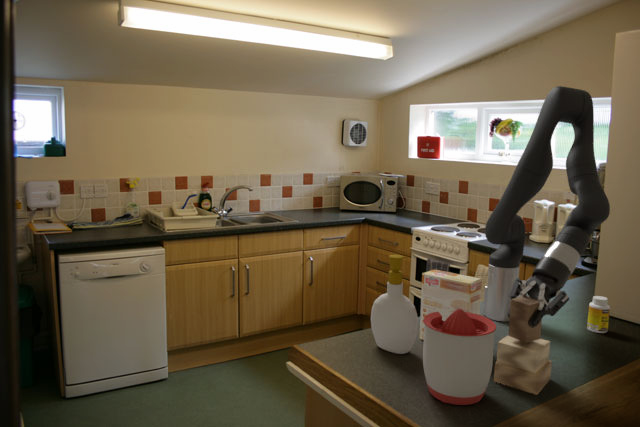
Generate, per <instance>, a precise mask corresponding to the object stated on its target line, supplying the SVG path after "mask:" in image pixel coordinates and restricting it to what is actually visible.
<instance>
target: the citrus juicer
mask: <svg viewBox="0 0 640 427" xmlns="http://www.w3.org/2000/svg"><path fill="white" fill-rule="evenodd" d="M423 322H424V340H423V344H422V346H423V349H422V364H423V365H422V366H423V371H424V376H425V377H424V378H425V383H426V385H427V389H428V391H429V393H430V394H431V395H432V397H434V398H435V399H437V400H439V401H440V402H442V403H444V404H451V405H456V406H457V405H458V406H467V405H468V406H469V405H474V404H478V403H479V402H480V401H481V400H482V398H483V397H484V395H485V393H486V391H487V390H488V389H487V387H488V384H489V382H490V379H491V375H492V372H493V371H492V370H493V364H494V363H493V360H494V350H495V349H494V348H495V332H496V329H497V324H496V323H495V322H494V320H493V319H490V318H488V317H487V316H485V315H481V314H480V315H478V314H474V313H469V312H464V311H463V310H462V309H457V310H456V311H454V312H453V313H452V314H451V315H450V316H449V317H448V318H447V319H446V320H445V321H443V320H442V315H441V314H440V313H439V312H433V313H430V314H428V315H426V316H425V317H424V319H423Z"/></svg>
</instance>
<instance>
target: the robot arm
mask: <svg viewBox="0 0 640 427" xmlns="http://www.w3.org/2000/svg"><path fill="white" fill-rule="evenodd" d="M541 106H542V107H540V108H541V109H540V111H539V113H538V117H537V120H536V122H535V124H534V127H533V129H532V133H531V136H530V138H529V139H528V141H527V144H526V147H525V149H523V153H522V155H521V157H520V158H519V159H518V160H519V161H518V163H517V165H516V167H515V169H514V170H513V174H512V176H511V178H510V180H509V182H508V184H507V186H506V187H505V190H504V191H503V194H502V196H501V198H500V199H499V201H498V203H497V204H496V205H495V208H494V209H493V211H492V212H491V214H490V216H489V217H488V219H487V221H486V224H485V227H484V235H485V237H486V240H487V241H488V242H489V243H490V244H491V245H496V246H497V245H498V246H499V247H498V248H497V249H496V250H495V251H494V252H492V253H491V254H490V255H489V256H488V272H487V285H485V286H484V291H483V293H484V294H483V306H482V307H483V308H482V316H484V317H486V318H488V319H490V320H492V321H498V322H509V320H510V305H511V299H514V298H518V297H530V298H533V299H536V300H538V302H540V303H539V304H538V307H537V310H535V311H534V313H533V314H532V316H531V317H530V319H529V321H528V324H529V326H530V327H532V328H534V327H535V326H537V325H538V324H539V322H540V321H541V319H542V320H543V317H544V316H547V315H548V316H550V317H553V316H555V315H556V314H557V313H558V312H559V311H560V310H561V309H562V308H563V307H564V306H565V305H566V303H567V302H568V301H570V297H569V295H568V294H567V292H566V291H565V290H561V289H563V288H564V287H565V285H566V283H567V282H568V280H569V278H570V277H571V276H572V274H573V273H574V270H576V268H577V266H578V265H579V264H578V263H579V261H580V259H581V258H582V256H583V255H584V253H585V252H586V249H587V248H588V246H589V243H590V238H591V236H592V234H594V232H595V231H596V229H598V227H599V226H600V225H601V224H604V222H606V221H607V220H608V218H609V216H610V212H611V209H610V208H611V206H610V202H609V201H610V200H609V198H608V197H607V195H606V193H605V190H604V188H603V186H602V185H601V183H600V178H599V172H598V168H597V161H596V156H595V147H594V146H595V145H594V144H595V143H594V142H595V140H594V139H595V137H594V136H595V134H594V133H595V132H594V131H595V126H594V120H595V119H594V116H595V114H594V101H593V98H592V96H591V94H590V92H588V91H586V90H584V89H580V88H573V87H569V86H562V85H558V86H555V87H553V88H551V90H550V91H549V92H548V94H546V97H545V98H544V101H543V103H542V105H541ZM559 123H565V124H569V125H570V124H571V126H572V128H573V134H574V138H573V143H572V144H571V147H570V149H569V151H568V153H567V156H566V160H565V171H566V177H567V183H568V187H569V190H570V192H571V193H572V194H574V195H576V196H577V199H578V204H577V205H576V206H575V207H574V208H573V209H572V211H571V212H570V213H569V215H568V217H567V219H566V221H565V222H564V224H563V227H562V229H561V231H559V233H558V234H557V236H556V237H555V239H554V241H553V242H552V243H551V244H550V246H549V247H547V249H546V250H545V252H544V253H543V255H542V256H541V258H540V259H539V261H538V263H537V264H536V266H535V267H534V269H533V270H532V274H531V276H530V277H529V278H528V279H526V280H522V279H521V278H519V276H520V264H521V260H522V259H523V255H524V248H525V241H526V224H525V222H524V219H523V218H522V217H521V216H520V215H519V214H518V213H519V212H520V211H521V209H522V208H523V207H524V206H525V205H526V204H527V203H529V202H530V201H531V200H532V199H533V198H535V196H536V195H537V194H538V193H539V192H540V191H541V190H542V189H543V187H544V186H545V184H546V182H547V180H548V178H549V176H550V175H551V172H552V171H553V169H554V168H553V167H554V158H553V151H552V137H553V134H554V132H555V129H556V127H557V125H558V124H559ZM551 299H552V300H551ZM567 304H568V303H567Z"/></svg>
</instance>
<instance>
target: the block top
mask: <svg viewBox="0 0 640 427" xmlns="http://www.w3.org/2000/svg"><path fill="white" fill-rule="evenodd" d="M508 335H509V334H507V335H506V336H505V337H503V338H502V339H501V340H499V341H498V342H497V350H496V362H498V363H501V364H504V365H508V366H511V367H515V368H518V369H521V370H525V371H528V372H531V373H536V372H538V371H539V370H540V369H541V368H542V367H543V366H544V365H545V364H546V363H547V362H548V361H549V359H550V358H549V357H550V348H551V347H550V345H551V340H547V339H543V338H540V339H538V340H534V341H531V342H528V343H525V342H523V341H520V340H518V339H515V338H513V337H510V336H508Z"/></svg>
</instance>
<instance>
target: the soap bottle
mask: <svg viewBox="0 0 640 427" xmlns="http://www.w3.org/2000/svg"><path fill="white" fill-rule="evenodd" d="M388 259H389V267H390V270H389V271H388V281H387V283H386V284H387V286H386V293H383V294H380V295H379V296H378V297H377V298H376V299H375V300H374V301H373V305H372V307H371V313H370V325H371V331H372V335H373V337H374V341H375V343H376V345H377V347H379V348H380V349H382V350H383V351H387V352H390V353H392V354H398V355H404V354H407V353H409V352H410V351H411V349H412V348H413V346H414V343H415V341H416V339H417V335H418V330H419V324H418V323H419V322H418V321H419V320H418V313H417V309H416V306H415V304H413V302H412V300H411V299H409V298H408V297H407V296H406V295H404V294H403V292H404V291H403V289H404V283H403V271H401V269H402V265H403V261H404V260H403V259H408V257H407V256H403V255H400V254H389V256H388Z"/></svg>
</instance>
